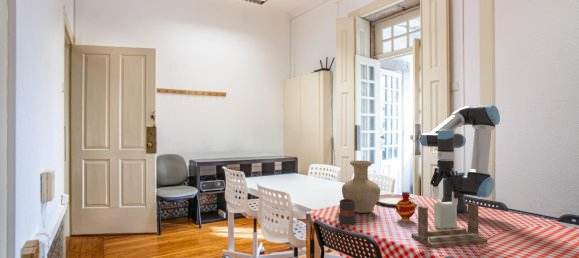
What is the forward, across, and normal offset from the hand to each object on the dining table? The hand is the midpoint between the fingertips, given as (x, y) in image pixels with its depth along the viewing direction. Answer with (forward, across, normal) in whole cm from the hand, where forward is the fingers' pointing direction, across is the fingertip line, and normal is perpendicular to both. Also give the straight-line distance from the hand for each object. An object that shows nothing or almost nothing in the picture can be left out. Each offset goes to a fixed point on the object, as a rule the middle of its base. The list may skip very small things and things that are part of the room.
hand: (445, 201), depth 164 cm
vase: (+13, -37, -28) cm, 49 cm away
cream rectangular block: (+13, 0, 0) cm, 13 cm away
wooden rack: (+13, +17, -12) cm, 24 cm away
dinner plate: (+13, -53, +4) cm, 55 cm away
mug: (+13, -19, -44) cm, 50 cm away
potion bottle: (+13, -15, -12) cm, 24 cm away
